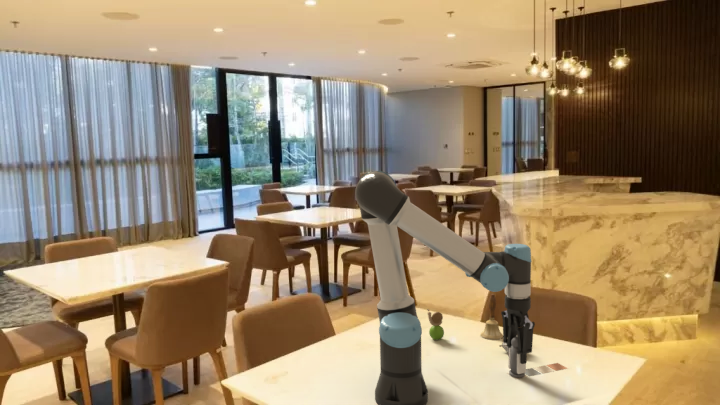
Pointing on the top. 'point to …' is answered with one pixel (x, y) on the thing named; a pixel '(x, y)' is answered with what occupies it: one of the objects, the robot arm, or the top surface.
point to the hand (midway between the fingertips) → (517, 370)
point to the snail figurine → (436, 325)
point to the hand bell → (492, 323)
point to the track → (543, 369)
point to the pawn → (514, 359)
